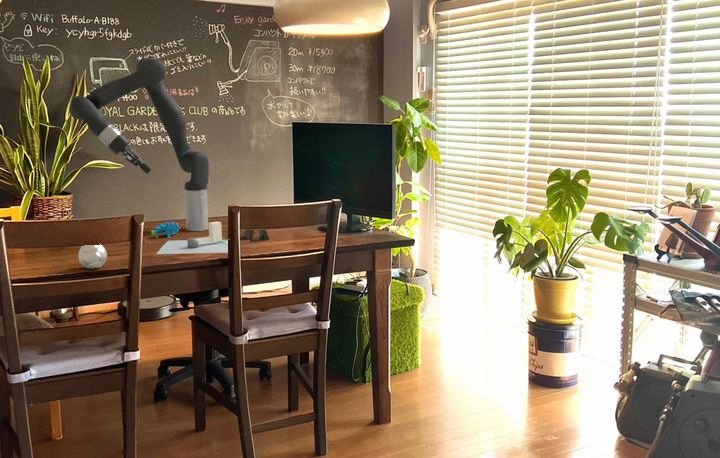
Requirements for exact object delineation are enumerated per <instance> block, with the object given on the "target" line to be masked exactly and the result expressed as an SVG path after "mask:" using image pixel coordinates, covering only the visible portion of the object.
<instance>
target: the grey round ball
mask: <svg viewBox="0 0 720 458" xmlns="http://www.w3.org/2000/svg"><path fill="white" fill-rule="evenodd" d="M99 244H100V245H84V246H80V249H79V251H78V260H79V263H80V264H81V265H82V266H83V267H84V268H86V269H89V270H91V269H92V270H96V269H98V268H101V267H102V266H103V265H104V264H105V263H106V261H107V257H108V254H107V253H108V252H107V249H106V247H104V245H102V244H101V243H99ZM95 268H96V269H95Z"/></svg>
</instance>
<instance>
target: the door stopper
mask: <svg viewBox="0 0 720 458" xmlns="http://www.w3.org/2000/svg"><path fill="white" fill-rule="evenodd" d="M257 232H258V234H259V235H258V236H256V237H255V236H254V233H255V229H254V230H246V229H245V230H244V234H243V237H244V238H246V239H248V240H249V241H253V242H261V240H262V241H269V240H270V238H269V234H268V232H267V229H266V230H258V229H257Z"/></svg>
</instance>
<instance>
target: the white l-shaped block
mask: <svg viewBox="0 0 720 458" xmlns="http://www.w3.org/2000/svg"><path fill="white" fill-rule="evenodd" d="M186 240H187V245H188V248H197V247H199V244H200V243H206V242H216V241H222V240H226V236H223V235H222V221H221V222H220V221H212V222H208V236H202V237H189V238H187V239H186Z"/></svg>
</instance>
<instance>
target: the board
mask: <svg viewBox="0 0 720 458" xmlns="http://www.w3.org/2000/svg"><path fill="white" fill-rule="evenodd" d="M228 240H229V239H222V241H216V242H206V243H200V244H199V247H197V248H188V245H187V239H186V240H183V239H182V240H178V239H177V240H167V241H166V242H165V243H164V244H163V245H162V247H160V249H159V250H158V251H157V252H156V255H178V254H179V255H182V254H185V255H186V254H189V255H190V254H192V255H193V254H229V253H228Z"/></svg>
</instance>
